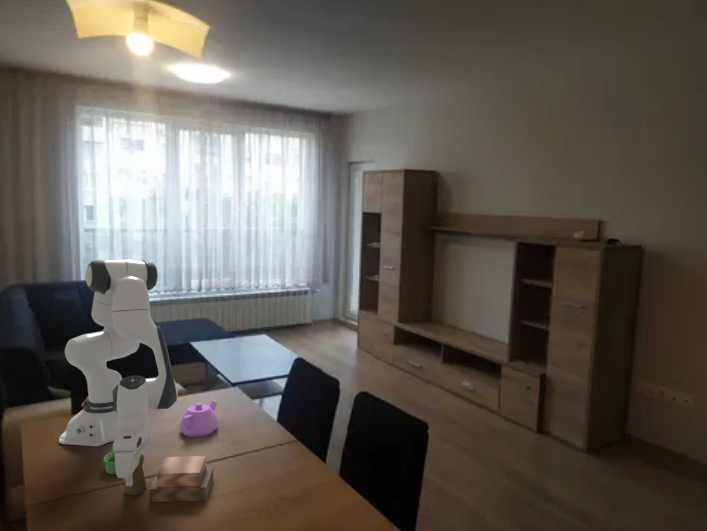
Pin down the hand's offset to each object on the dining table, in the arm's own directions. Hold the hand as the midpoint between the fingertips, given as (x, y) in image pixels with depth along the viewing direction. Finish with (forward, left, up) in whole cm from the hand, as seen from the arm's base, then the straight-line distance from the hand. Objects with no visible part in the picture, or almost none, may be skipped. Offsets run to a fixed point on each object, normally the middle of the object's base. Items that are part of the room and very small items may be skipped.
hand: (135, 476), depth 152 cm
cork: (0, 0, -4) cm, 4 cm away
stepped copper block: (+14, -1, -4) cm, 15 cm away
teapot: (+11, +41, -4) cm, 43 cm away
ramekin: (-9, +13, -4) cm, 16 cm away
